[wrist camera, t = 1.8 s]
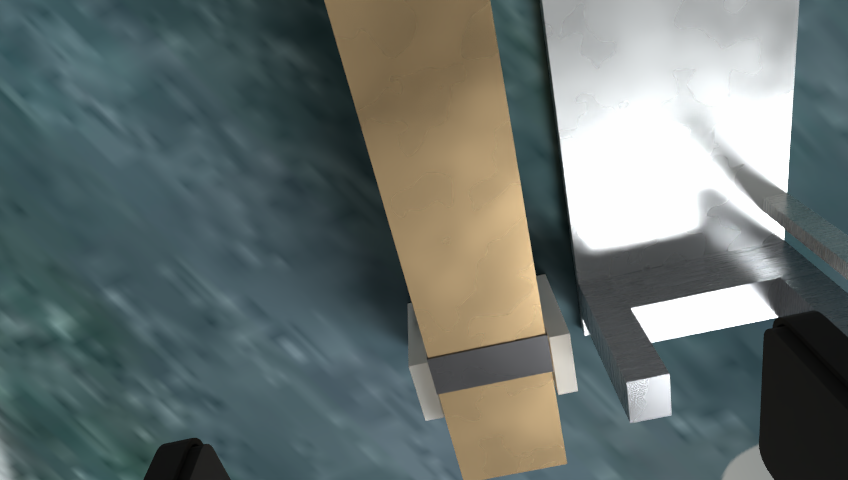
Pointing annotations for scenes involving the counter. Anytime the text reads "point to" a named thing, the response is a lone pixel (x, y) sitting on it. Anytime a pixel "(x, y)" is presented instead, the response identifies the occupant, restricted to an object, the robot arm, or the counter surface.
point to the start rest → (557, 344)
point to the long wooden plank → (457, 219)
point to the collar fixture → (681, 177)
